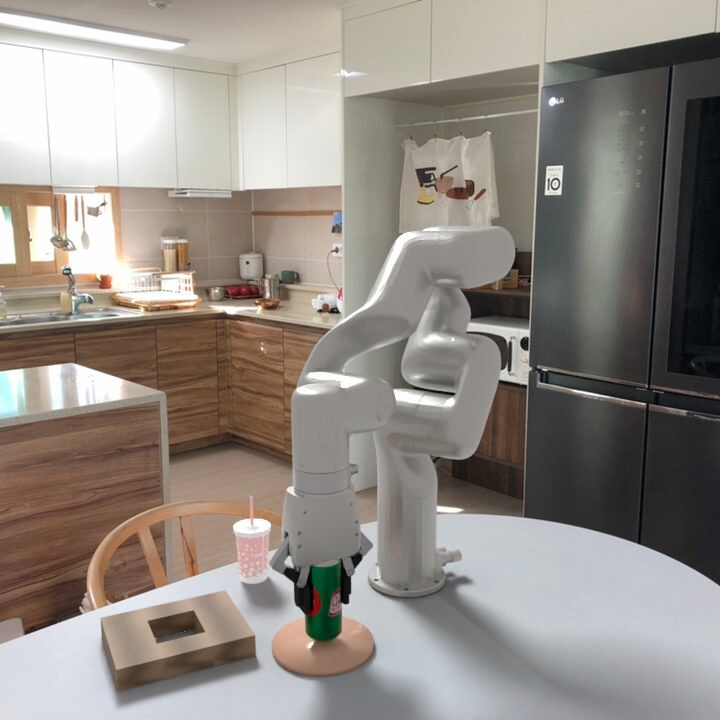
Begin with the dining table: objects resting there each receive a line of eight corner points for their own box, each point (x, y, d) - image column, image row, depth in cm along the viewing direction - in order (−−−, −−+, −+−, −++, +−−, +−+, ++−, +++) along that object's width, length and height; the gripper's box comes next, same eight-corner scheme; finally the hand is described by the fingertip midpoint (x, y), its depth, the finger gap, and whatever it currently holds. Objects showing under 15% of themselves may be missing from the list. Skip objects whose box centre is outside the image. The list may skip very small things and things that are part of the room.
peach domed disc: (347, 611, 115) (347, 606, 114) (391, 659, 102) (392, 654, 102) (257, 634, 109) (257, 629, 108) (294, 687, 96) (293, 682, 96)
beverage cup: (257, 565, 130) (255, 486, 127) (279, 577, 126) (278, 496, 123) (227, 577, 126) (224, 496, 123) (249, 589, 121) (247, 506, 119)
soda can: (337, 645, 102) (336, 561, 100) (300, 641, 103) (299, 558, 101) (345, 626, 107) (345, 545, 105) (310, 622, 108) (309, 542, 106)
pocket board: (226, 608, 116) (225, 590, 115) (255, 655, 103) (255, 635, 103) (101, 637, 108) (100, 617, 107) (117, 691, 96) (116, 669, 95)
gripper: (366, 460, 108) (366, 580, 111) (250, 479, 101) (254, 606, 104) (391, 476, 101) (391, 603, 105) (269, 497, 94) (273, 633, 97)
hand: (323, 603), depth 104 cm, fingers closed on soda can, 5 cm apart
